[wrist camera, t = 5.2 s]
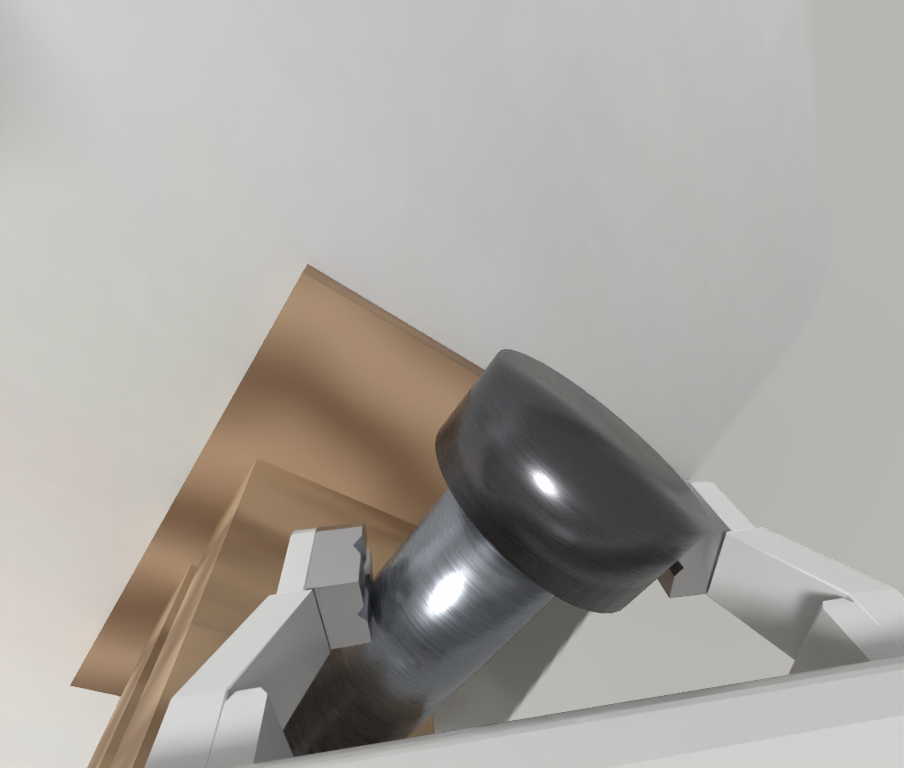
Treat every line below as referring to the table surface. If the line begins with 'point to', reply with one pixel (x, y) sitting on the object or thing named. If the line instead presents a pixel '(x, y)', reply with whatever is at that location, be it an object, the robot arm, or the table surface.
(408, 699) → the shaft
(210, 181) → the table surface
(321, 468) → the threaded rod press
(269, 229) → the table surface
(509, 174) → the table surface
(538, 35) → the table surface
